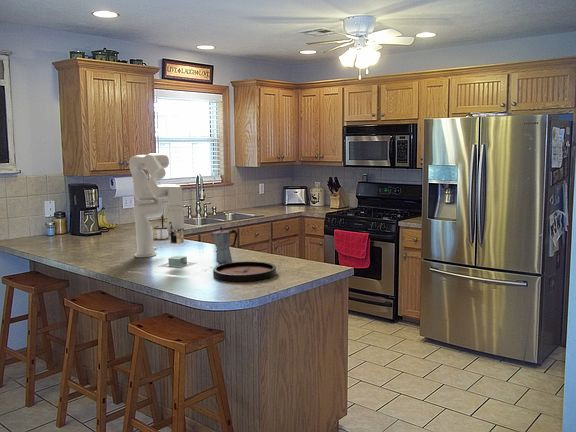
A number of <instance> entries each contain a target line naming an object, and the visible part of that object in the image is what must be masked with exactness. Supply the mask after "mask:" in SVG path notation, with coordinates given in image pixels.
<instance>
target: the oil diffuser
mask: <svg viewBox="0 0 576 432" xmlns="http://www.w3.org/2000/svg"><path fill="white" fill-rule="evenodd" d="M160 218H161V225H157V226H155V227H153V230H156V239H157V240H166V239H168V238H169V232H168V231H167V230H168V229H167V225H164V214H162V216H161V217H160Z"/></svg>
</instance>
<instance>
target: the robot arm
mask: <svg viewBox="0 0 576 432" xmlns="http://www.w3.org/2000/svg"><path fill="white" fill-rule="evenodd" d="M128 161H129V162H128V167H129V168H128V169H129V171H130V174H131V177H132V184H133V193H134V198H135V200H136V201H139V202H140V201H141V202H140V203H137V204H134V206H133V208H132V212H133V216H134V221H135V222H134V225H135V237H136V238H135V239H136V252H135V253H134V257H136V258H150V257H155V256H156V255H157V252H155V251H158V247H157V246H154V238H153V237H154V235H153V234H154V233H153V226H152V223H151V222H150V221H149V219H157V218H162V217H161V216H162V215H164V214H163V213H164V205H163V199H167V208H168V209H167V210H168V212H167V216H166V226H167V229H168V230H167V231H168V234H169V237H170V236H171V243H177V240H176V236H175V235H176V231H183V232H184V230H185V229H186V226H185V216H184V211H183V210H184V209H183V190H182V186H181V185H179V184H178V185H176V184H174V183H173V184H171V183H169V184H157V182H159V181H162V179H163V178H165V176H166V170H165V169H166V168H168V166H169V164H170V160H169V157H168V156H167V154H165V153H159V152H158V153H157V152H156V153H148V154H138V155H137V154H136V155H134V156H131V157H130V158H129V160H128ZM144 170H145V171H147V172H148V174H149V176H150V177H148V175H147V173H146V172H145V171H144ZM143 201H151V202H143ZM173 232H174V233H173Z"/></svg>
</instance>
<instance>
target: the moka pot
mask: <svg viewBox="0 0 576 432" xmlns="http://www.w3.org/2000/svg"><path fill="white" fill-rule="evenodd" d="M233 234H235V235H234V239H233V244H231V245H230V243H231V242H230V241H231V235H233ZM238 235H239V234H238V232H237V230H235V229H231V230H225V229H223V227H222V226H220V227H219V230H217V231H213V232H210V234H209V236H211V238H212V239H213V242H214V246H215V247H216V248H215V249H216V251H215V253H216V258H215V262H217V263H218V265H221V264H226V263H232V262H233V259H232V254H231V250H230V249H231V248H230V247H235V246H236V243H237V238H238Z"/></svg>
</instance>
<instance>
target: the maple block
mask: <svg viewBox="0 0 576 432" xmlns="http://www.w3.org/2000/svg"><path fill="white" fill-rule="evenodd" d="M173 233H174V231H173ZM175 236H176V240H177V243H171V236H170V235H169V239H170V243H169V244H171V245H173V244H174V245H180V244H183V243H185V242H184V230H183V231H177V230H176V235H175Z"/></svg>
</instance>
